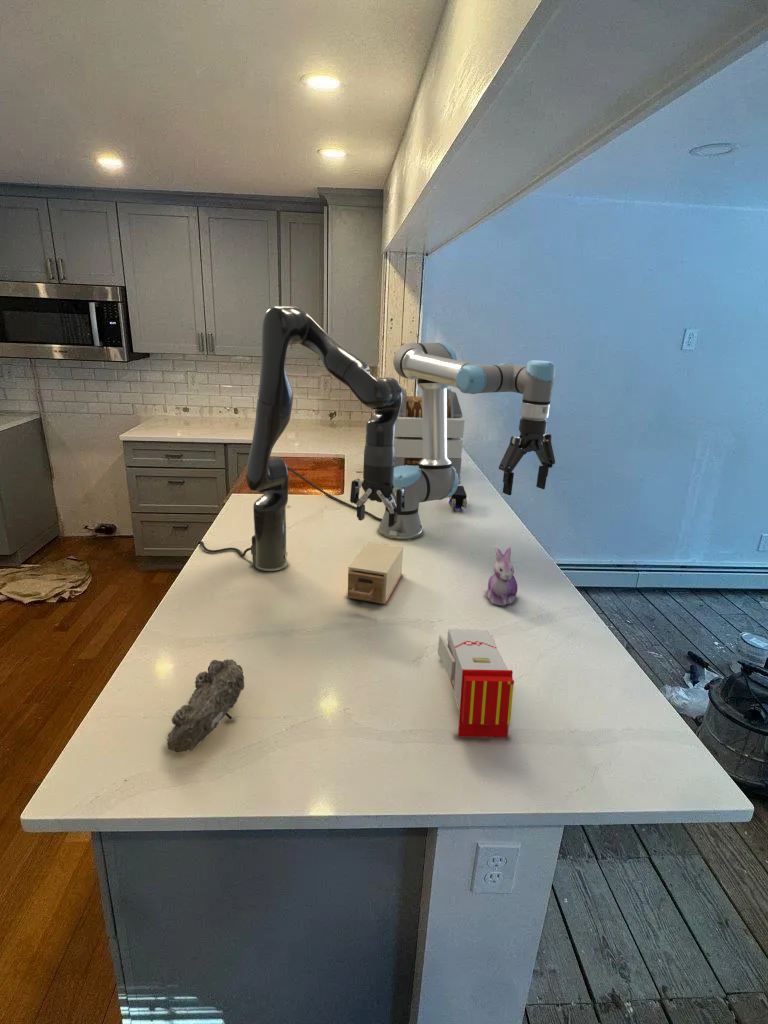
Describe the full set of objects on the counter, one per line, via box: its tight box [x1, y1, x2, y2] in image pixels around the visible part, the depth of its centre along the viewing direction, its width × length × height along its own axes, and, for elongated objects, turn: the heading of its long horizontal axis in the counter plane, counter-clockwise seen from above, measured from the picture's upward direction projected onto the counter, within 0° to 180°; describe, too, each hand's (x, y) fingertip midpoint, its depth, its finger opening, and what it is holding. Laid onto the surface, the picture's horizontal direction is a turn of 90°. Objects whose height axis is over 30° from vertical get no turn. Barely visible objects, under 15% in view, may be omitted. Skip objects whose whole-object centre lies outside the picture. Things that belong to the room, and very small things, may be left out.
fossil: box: [166, 658, 245, 754], centre depth 106 cm, size 22×10×15 cm
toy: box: [437, 628, 515, 738], centre depth 117 cm, size 12×13×30 cm
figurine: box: [486, 546, 518, 606], centre depth 155 cm, size 9×10×15 cm
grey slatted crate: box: [394, 386, 465, 484], centre depth 268 cm, size 34×33×41 cm
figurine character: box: [448, 485, 468, 512], centre depth 228 cm, size 7×8×15 cm
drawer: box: [347, 571, 384, 604], centre depth 156 cm, size 23×10×7 cm, turn 165°
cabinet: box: [347, 541, 404, 605], centre depth 160 cm, size 18×11×9 cm, turn 165°
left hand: (376, 523), depth 144 cm, fingers open, 8 cm apart
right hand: (524, 490), depth 165 cm, fingers open, 13 cm apart
